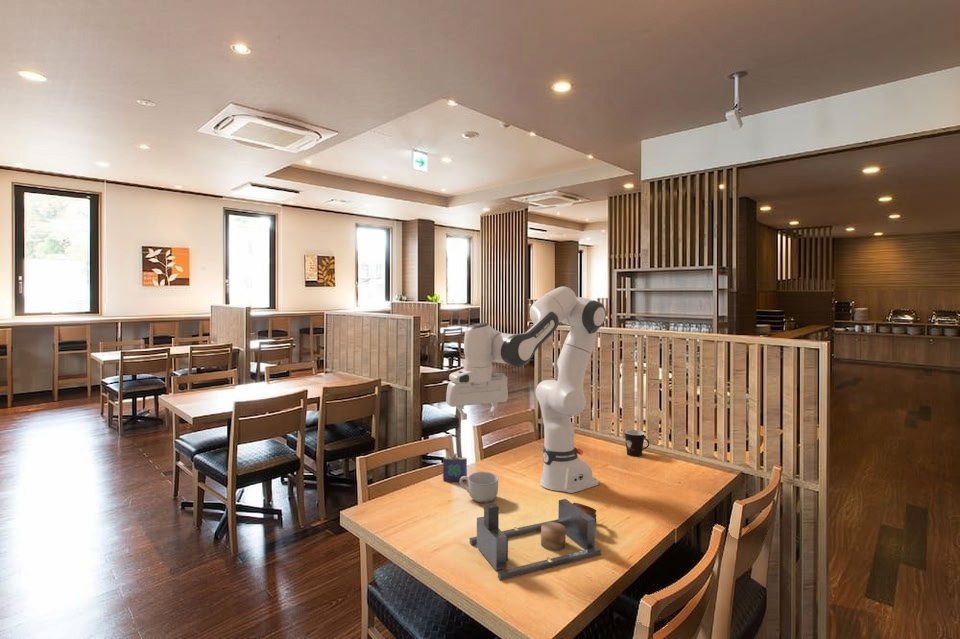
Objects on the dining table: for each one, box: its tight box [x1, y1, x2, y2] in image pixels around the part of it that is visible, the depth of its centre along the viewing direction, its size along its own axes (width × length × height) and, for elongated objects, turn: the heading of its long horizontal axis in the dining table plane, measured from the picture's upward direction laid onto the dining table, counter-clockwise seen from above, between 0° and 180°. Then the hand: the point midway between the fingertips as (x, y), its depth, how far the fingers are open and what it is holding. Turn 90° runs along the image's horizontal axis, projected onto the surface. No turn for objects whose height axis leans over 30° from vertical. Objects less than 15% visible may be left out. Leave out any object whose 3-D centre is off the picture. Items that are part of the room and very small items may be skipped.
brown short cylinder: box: [540, 521, 567, 552], centre depth 144 cm, size 7×7×5 cm
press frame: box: [469, 498, 602, 581], centre depth 141 cm, size 31×21×9 cm
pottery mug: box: [572, 502, 597, 525], centre depth 154 cm, size 12×10×8 cm
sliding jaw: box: [476, 502, 509, 571], centre depth 136 cm, size 4×13×14 cm, turn 23°
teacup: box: [458, 471, 499, 504], centre depth 176 cm, size 14×11×8 cm
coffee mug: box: [624, 429, 650, 458], centre depth 222 cm, size 12×9×10 cm
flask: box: [442, 452, 468, 483], centre depth 192 cm, size 9×3×11 cm, turn 88°
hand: (477, 417), depth 158 cm, fingers open, 8 cm apart
